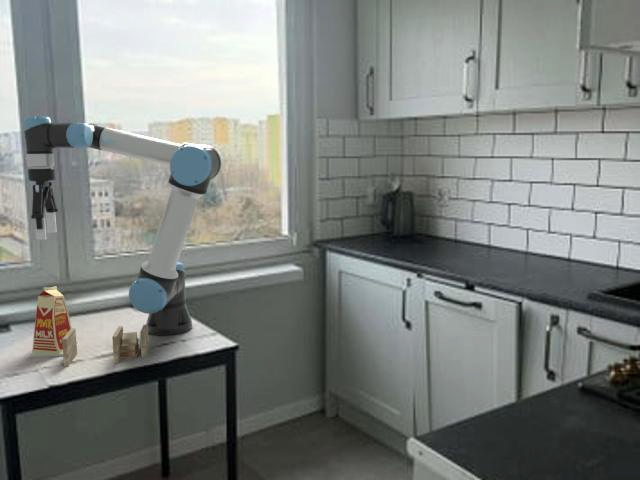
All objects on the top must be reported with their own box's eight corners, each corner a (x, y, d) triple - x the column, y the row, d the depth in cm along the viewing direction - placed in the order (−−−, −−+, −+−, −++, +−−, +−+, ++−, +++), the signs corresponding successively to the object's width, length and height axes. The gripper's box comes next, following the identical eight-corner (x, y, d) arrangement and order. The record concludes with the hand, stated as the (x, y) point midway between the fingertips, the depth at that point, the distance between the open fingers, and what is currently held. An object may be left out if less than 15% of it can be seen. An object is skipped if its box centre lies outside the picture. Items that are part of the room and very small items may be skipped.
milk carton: (59, 354, 178) (54, 289, 175) (31, 352, 180) (25, 288, 176) (76, 343, 187) (71, 281, 184) (49, 342, 188) (44, 280, 185)
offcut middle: (138, 344, 183) (138, 338, 183) (134, 351, 177) (134, 345, 177) (125, 345, 183) (124, 338, 182) (120, 352, 177) (120, 345, 176)
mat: (77, 343, 189) (77, 341, 189) (68, 355, 179) (68, 353, 179) (40, 345, 188) (40, 343, 188) (29, 357, 177) (29, 355, 177)
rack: (148, 349, 184) (147, 324, 182) (144, 361, 174) (142, 335, 172) (73, 353, 180) (71, 328, 179) (64, 366, 171) (62, 339, 169)
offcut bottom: (139, 350, 183) (139, 344, 183) (135, 357, 177) (134, 351, 177) (126, 351, 183) (125, 344, 183) (121, 358, 177) (121, 351, 177)
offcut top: (137, 338, 183) (136, 331, 182) (136, 344, 177) (136, 338, 177) (123, 339, 182) (123, 333, 181) (122, 345, 176) (121, 339, 176)
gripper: (38, 166, 195) (43, 230, 199) (16, 170, 171) (22, 243, 174) (62, 165, 196) (67, 229, 200) (44, 169, 172) (50, 242, 176)
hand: (46, 236), depth 187 cm, fingers open, 13 cm apart
